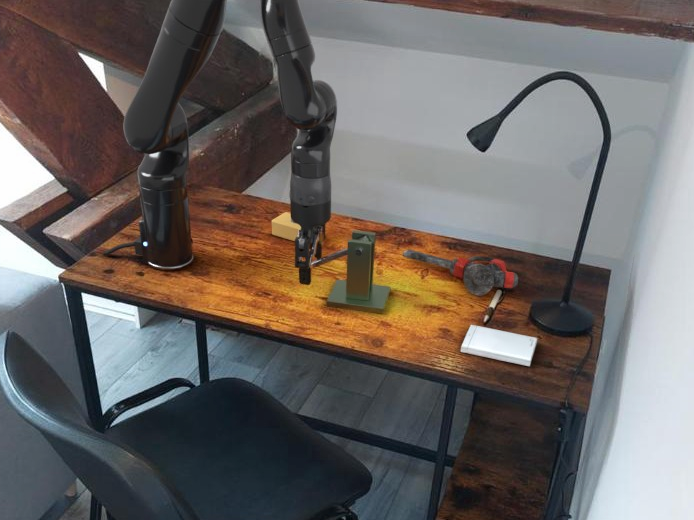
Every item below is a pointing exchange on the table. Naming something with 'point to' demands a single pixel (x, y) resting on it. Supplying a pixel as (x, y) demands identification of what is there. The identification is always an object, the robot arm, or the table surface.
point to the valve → (472, 271)
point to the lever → (332, 256)
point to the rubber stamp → (285, 226)
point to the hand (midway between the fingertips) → (310, 273)
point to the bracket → (360, 278)
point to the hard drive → (499, 345)
